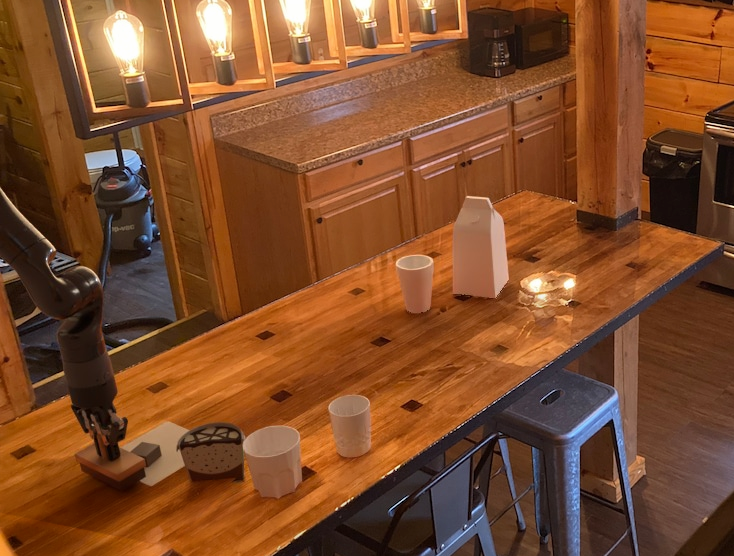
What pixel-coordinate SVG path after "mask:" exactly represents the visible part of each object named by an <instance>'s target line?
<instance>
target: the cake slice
mask: <svg viewBox="0 0 734 556" xmlns="http://www.w3.org/2000/svg"><path fill="white" fill-rule="evenodd" d="M189 430H190V431H188V432H187V433H185V434H184V435H183V436H182V437H181V438H180V439H179V440H178V444H177V449H176V452H177V451H178V450H179V449H180V452H181V455H182V458H183V461H184V464H185V466H184V467H185V470H186V472H187V476H188V478H189V481H190V483H195V482H206V481H207V482H209V481H216V480H217V481H218V480H227V479H232V481H231V484H232V483H241V482H242V483H243V482H245V478H246V473H245V454H244V450H243V446H242V445H243V442H244V440H245V439H246V438H247V437H246V436H245V433H244V432H243V430H242V429H241V428H240V426H238V425H236V424H233V423H231V422H223V421H222V422H221V421H220V422H219V421H218V422H209V423H205V424H202V425H201V424H200V425H199V426H195V427H193V428H192V429H189Z"/></svg>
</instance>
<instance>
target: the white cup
mask: <svg viewBox="0 0 734 556" xmlns="http://www.w3.org/2000/svg"><path fill="white" fill-rule="evenodd" d="M327 408H328V409H327V410H328V415H329V421H330V427H331V430H332V431H331V432H332V436H333V440H334V443H335V448H336V453H337V454H338V455H340V456H341V457H343V458H348V459H349V458H350V459H351V458H357V457H361V456H364V455H365V454H367V453H369V451H370V450H371V448H372V419H371V402H370V400H369V399H368V398H367V396H363V395H360V394H348V395H347V394H346V395H342V396H340V397H337V398H335V399H334V400H332V401H331V402H330V403H329V404H328V407H327Z"/></svg>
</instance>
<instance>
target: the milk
mask: <svg viewBox="0 0 734 556" xmlns="http://www.w3.org/2000/svg"><path fill="white" fill-rule="evenodd" d="M508 266H509V264H508V253H507V243H506V232H505V222H504V218H503V217H502V216H501V214H500V213H499V212H498V211H497V210H496V209H495V208H494V207H493V204H492V202H491V200H490V198H489V197H484V196H471V195H466V196H465V198H464V201H463V203H462V206H461V208H460V210H459V213H458V215H457V217H456V220H455V223H454V225H453V228H452V295H453V294H462V295H464V294H465V295H473V296H482V297H489V298H496V297H497V295H498V294H499V293H500V291H501V290H502V288H503V287H504V285H505V284H506V283H507V281H508V280H509V281H510V277H509V267H508ZM504 288H505V287H504ZM502 291H503V290H502ZM502 291H501V292H502ZM500 294H501V293H500ZM500 294H499V295H500ZM499 295H498V296H499ZM497 298H498V297H497ZM497 298H496V299H497Z"/></svg>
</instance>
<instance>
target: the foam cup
mask: <svg viewBox="0 0 734 556" xmlns="http://www.w3.org/2000/svg"><path fill="white" fill-rule="evenodd" d="M433 259H434V258H433V257H430V256H428V255H424V254H410V255H405V256H403V257H400V258H398V259H397V260H396V262H395V269H396V270H395V271H396V275H397V276H398V280H399V286H400V290H401V293H402V299H403V302H404V307H405V310H407V311H406V312H408V311H409V312H408V313H410V312H411V313H410V314H422V313H421V312H423V313H426V312H428V311H429V310H430V309H431V308H430V307H432V293H433V278H434V271H435V264H434V260H433ZM427 310H428V311H427Z"/></svg>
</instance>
